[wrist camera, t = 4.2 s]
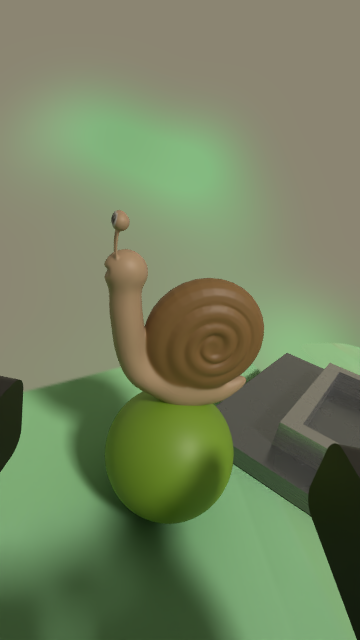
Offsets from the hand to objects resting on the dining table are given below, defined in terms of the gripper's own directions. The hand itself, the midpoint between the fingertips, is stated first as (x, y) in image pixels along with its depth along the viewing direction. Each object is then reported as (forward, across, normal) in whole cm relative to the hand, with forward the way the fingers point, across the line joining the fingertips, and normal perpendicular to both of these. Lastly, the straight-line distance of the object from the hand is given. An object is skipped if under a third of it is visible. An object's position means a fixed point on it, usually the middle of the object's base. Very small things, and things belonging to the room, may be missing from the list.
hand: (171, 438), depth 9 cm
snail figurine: (+4, 0, +7) cm, 8 cm away
